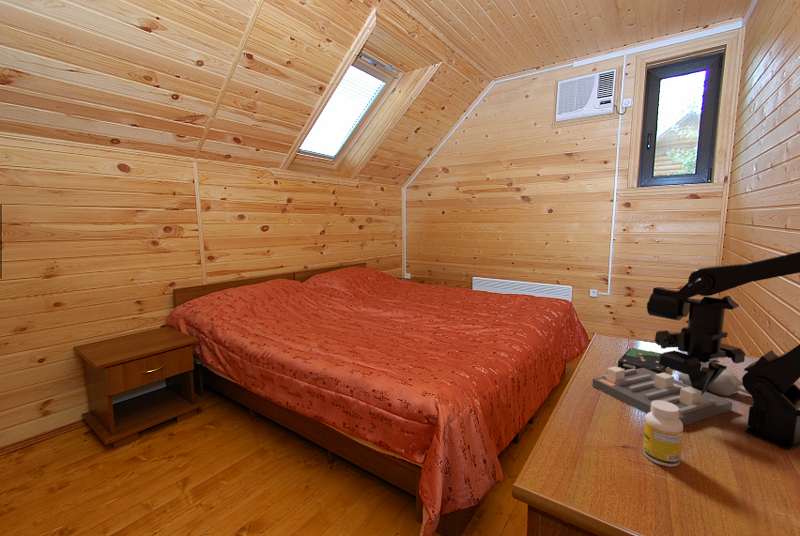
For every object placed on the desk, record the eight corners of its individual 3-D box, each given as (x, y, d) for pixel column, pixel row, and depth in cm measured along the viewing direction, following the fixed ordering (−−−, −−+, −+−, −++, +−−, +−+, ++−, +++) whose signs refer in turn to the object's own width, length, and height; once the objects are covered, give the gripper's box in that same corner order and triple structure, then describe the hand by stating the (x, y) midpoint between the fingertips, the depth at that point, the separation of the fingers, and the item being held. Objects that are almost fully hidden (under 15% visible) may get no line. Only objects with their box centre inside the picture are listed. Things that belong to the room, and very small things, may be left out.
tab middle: (672, 388, 85) (674, 376, 85) (664, 390, 84) (665, 378, 84) (662, 384, 88) (663, 372, 87) (654, 386, 87) (654, 374, 86)
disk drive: (661, 380, 96) (670, 363, 106) (662, 370, 95) (671, 354, 106) (617, 369, 103) (629, 354, 114) (617, 360, 103) (630, 346, 113)
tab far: (623, 381, 89) (624, 369, 89) (615, 383, 88) (615, 371, 88) (615, 377, 92) (615, 366, 91) (606, 379, 91) (607, 368, 90)
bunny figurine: (684, 361, 97) (764, 372, 85) (685, 380, 97) (765, 393, 86) (675, 371, 91) (759, 384, 79) (676, 391, 91) (760, 407, 80)
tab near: (700, 404, 78) (701, 391, 78) (691, 407, 77) (692, 393, 77) (688, 399, 80) (689, 386, 80) (679, 401, 79) (680, 388, 79)
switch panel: (731, 410, 79) (732, 398, 79) (676, 428, 73) (677, 415, 73) (642, 374, 98) (643, 364, 98) (592, 386, 92) (593, 375, 91)
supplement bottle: (644, 444, 68) (648, 395, 67) (680, 456, 65) (685, 404, 63) (640, 459, 64) (644, 406, 63) (679, 472, 61) (684, 417, 59)
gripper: (693, 312, 88) (687, 373, 90) (637, 320, 82) (632, 386, 84) (750, 324, 78) (742, 393, 80) (691, 335, 71) (684, 409, 74)
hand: (698, 394), depth 80 cm, fingers closed
